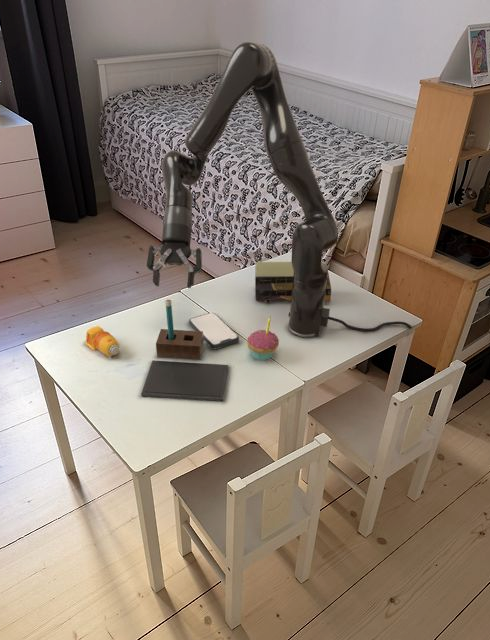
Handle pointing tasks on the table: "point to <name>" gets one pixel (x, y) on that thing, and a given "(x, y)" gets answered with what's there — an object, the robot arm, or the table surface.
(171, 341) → the pen stand
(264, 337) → the cupcake
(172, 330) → the stylus
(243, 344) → the table surface
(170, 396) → the tablet
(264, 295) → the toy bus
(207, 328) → the smartphone
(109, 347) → the toy figure
